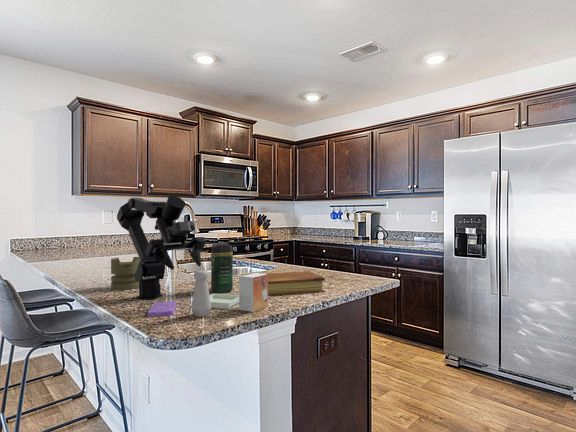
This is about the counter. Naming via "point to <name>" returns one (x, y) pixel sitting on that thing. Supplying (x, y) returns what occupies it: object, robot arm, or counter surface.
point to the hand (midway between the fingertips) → (186, 267)
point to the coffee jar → (221, 267)
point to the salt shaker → (201, 294)
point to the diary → (294, 283)
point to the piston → (124, 274)
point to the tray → (223, 301)
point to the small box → (253, 292)
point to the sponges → (162, 308)
